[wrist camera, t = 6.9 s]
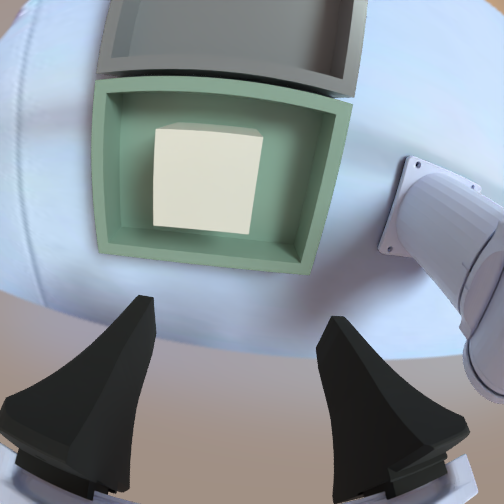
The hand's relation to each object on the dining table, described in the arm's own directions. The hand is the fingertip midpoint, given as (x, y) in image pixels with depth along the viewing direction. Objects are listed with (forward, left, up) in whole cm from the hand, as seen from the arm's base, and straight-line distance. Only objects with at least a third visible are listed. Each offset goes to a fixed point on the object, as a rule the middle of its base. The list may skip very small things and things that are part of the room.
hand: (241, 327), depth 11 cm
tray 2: (+2, -4, -9) cm, 10 cm away
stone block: (+2, -4, -9) cm, 10 cm away
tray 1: (+2, -15, -9) cm, 18 cm away
